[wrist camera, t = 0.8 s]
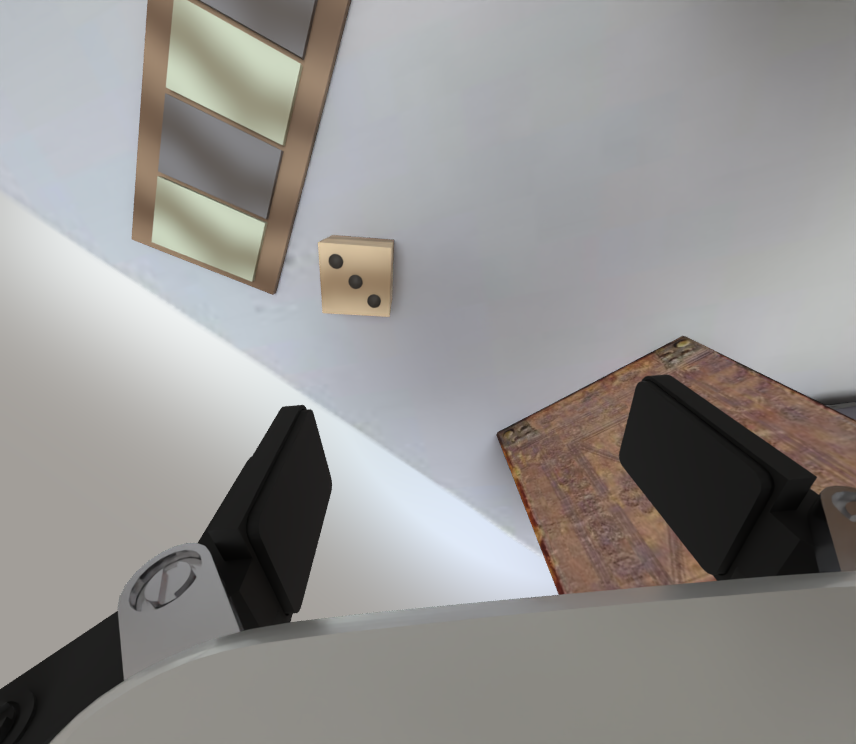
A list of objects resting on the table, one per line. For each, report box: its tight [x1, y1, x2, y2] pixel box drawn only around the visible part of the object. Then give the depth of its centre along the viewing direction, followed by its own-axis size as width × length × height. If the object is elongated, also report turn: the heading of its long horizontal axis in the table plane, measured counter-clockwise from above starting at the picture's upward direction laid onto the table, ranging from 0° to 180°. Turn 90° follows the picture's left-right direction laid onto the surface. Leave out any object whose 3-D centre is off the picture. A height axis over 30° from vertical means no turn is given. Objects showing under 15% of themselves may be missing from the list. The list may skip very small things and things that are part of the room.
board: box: [132, 0, 351, 295], centre depth 27 cm, size 32×13×1 cm, turn 156°
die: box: [318, 235, 394, 317], centre depth 32 cm, size 6×6×6 cm
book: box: [497, 336, 856, 595], centre depth 31 cm, size 25×9×30 cm, turn 123°
